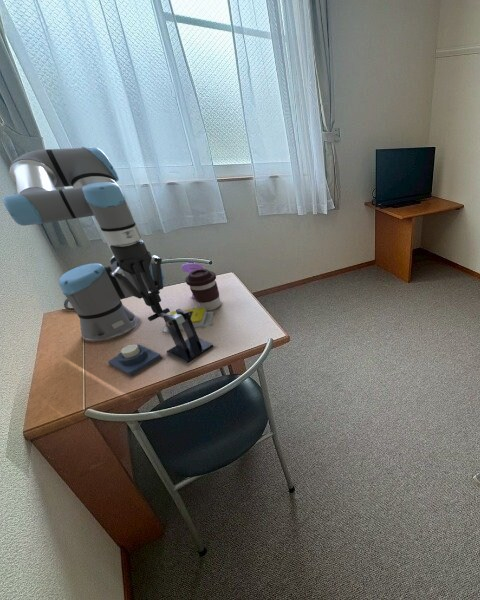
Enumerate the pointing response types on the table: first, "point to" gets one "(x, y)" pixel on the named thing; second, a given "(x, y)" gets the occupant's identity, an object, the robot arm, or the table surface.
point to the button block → (135, 361)
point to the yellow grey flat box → (195, 318)
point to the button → (130, 351)
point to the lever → (178, 317)
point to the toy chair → (191, 268)
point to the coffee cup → (204, 288)
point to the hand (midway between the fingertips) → (158, 312)
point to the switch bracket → (185, 348)
